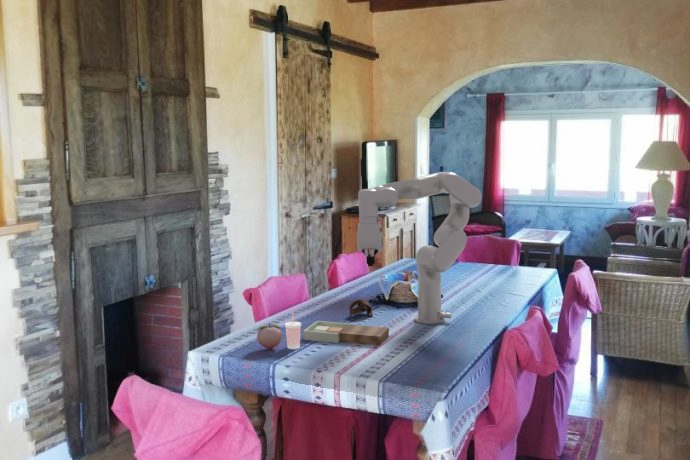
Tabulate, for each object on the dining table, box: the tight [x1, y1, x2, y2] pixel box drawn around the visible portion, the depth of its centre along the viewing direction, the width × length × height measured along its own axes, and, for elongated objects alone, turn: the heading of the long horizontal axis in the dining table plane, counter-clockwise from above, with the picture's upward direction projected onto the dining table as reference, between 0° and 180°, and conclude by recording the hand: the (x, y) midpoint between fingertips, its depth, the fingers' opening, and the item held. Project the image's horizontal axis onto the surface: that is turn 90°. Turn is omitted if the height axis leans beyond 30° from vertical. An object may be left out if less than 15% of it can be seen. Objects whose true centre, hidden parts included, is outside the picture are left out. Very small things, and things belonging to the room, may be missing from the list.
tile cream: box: [314, 326, 330, 332], centre depth 265 cm, size 5×5×2 cm
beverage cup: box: [284, 309, 302, 350], centre depth 250 cm, size 6×6×14 cm
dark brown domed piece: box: [348, 298, 374, 318], centre depth 294 cm, size 12×10×8 cm
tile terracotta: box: [327, 327, 344, 334], centre depth 263 cm, size 5×5×2 cm
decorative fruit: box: [256, 322, 283, 350], centre depth 248 cm, size 9×8×10 cm
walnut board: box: [338, 324, 390, 347], centre depth 260 cm, size 16×12×4 cm
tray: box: [302, 320, 352, 344], centre depth 265 cm, size 14×15×4 cm
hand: (370, 265), depth 271 cm, fingers closed
